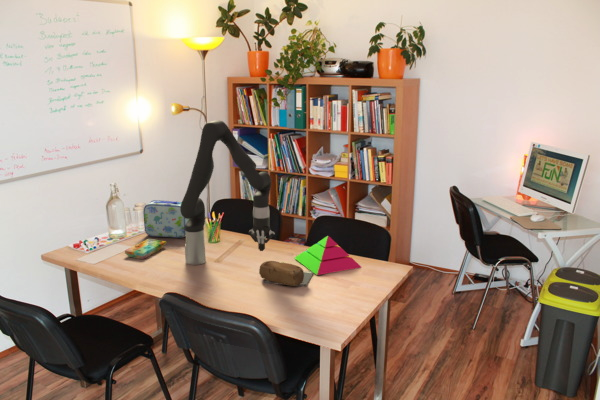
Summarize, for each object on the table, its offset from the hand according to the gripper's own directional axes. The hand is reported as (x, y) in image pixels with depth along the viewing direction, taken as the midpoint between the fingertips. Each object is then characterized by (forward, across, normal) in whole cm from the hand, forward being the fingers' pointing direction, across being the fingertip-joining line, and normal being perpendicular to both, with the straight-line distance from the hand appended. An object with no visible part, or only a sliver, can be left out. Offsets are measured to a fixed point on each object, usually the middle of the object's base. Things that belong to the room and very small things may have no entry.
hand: (261, 250), depth 250 cm
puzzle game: (+14, -70, +16) cm, 73 cm away
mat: (+12, +13, 0) cm, 18 cm away
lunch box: (+14, -70, +44) cm, 84 cm away
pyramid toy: (+12, +28, +22) cm, 37 cm away
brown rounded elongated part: (+8, +2, -2) cm, 8 cm away
